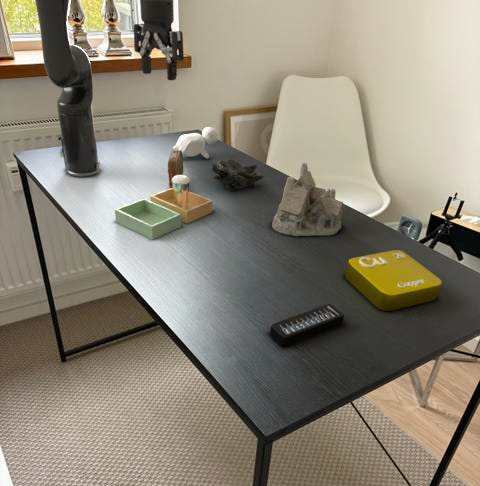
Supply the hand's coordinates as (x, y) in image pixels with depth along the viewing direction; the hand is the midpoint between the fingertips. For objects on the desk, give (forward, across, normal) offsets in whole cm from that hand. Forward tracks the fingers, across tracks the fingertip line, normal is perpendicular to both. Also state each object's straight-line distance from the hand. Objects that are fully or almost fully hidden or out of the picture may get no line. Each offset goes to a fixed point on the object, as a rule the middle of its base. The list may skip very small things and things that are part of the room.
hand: (159, 76), depth 119 cm
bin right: (+30, +11, -4) cm, 32 cm away
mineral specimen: (+30, +11, +19) cm, 37 cm away
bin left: (+30, +11, -16) cm, 36 cm away
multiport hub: (+30, +64, -25) cm, 75 cm away
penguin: (+30, -15, +30) cm, 45 cm away
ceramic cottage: (+30, +40, +12) cm, 52 cm away
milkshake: (+30, +11, -4) cm, 32 cm away
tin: (+30, -3, +8) cm, 31 cm away
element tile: (+30, +69, 0) cm, 75 cm away
